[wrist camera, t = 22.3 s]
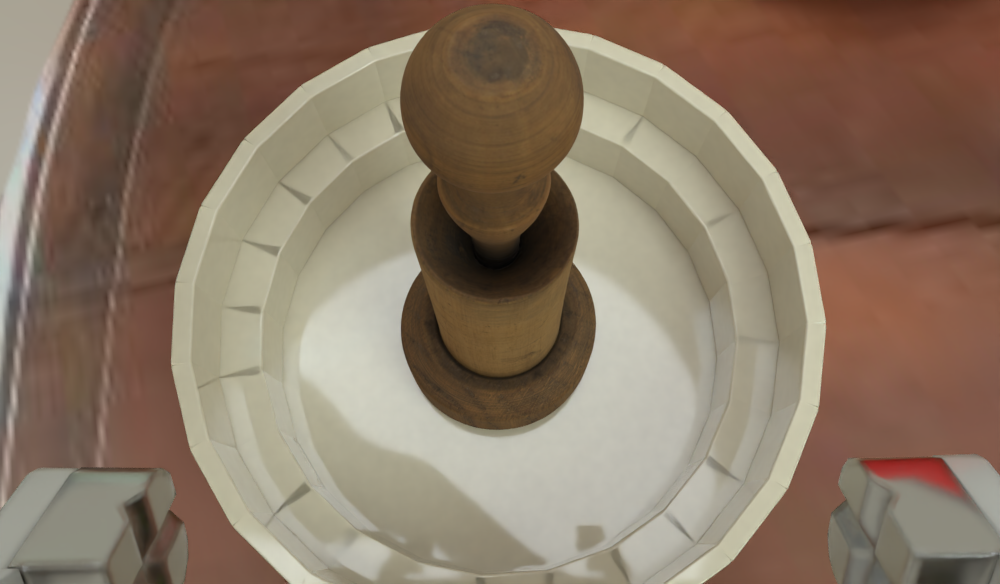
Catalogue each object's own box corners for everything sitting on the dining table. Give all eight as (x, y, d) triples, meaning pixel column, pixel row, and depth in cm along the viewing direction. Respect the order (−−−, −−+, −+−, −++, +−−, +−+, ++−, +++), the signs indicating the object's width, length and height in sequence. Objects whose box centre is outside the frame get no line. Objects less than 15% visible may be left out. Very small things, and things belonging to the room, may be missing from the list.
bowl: (312, 716, 27) (259, 763, 21) (184, 196, 32) (114, 120, 26) (852, 519, 29) (941, 513, 23) (647, 56, 34) (676, -44, 28)
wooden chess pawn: (469, 220, 31) (425, -186, 14) (623, 305, 30) (785, -18, 13) (372, 372, 29) (183, 128, 12) (532, 467, 28) (575, 349, 11)
